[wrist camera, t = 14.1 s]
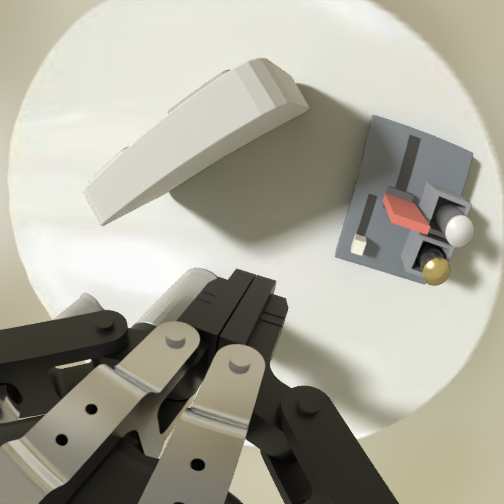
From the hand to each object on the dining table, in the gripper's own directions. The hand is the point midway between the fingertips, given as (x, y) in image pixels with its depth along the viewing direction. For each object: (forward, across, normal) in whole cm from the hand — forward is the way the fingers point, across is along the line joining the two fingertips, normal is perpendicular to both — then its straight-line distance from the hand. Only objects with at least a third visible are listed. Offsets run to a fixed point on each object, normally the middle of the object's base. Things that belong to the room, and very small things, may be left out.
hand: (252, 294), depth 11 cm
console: (+35, -12, +2) cm, 37 cm away
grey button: (+27, -17, 0) cm, 32 cm away
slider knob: (+32, -8, +9) cm, 34 cm away
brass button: (+28, -17, +6) cm, 34 cm away
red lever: (+32, -11, +2) cm, 34 cm away
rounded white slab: (+35, +16, 0) cm, 39 cm away
